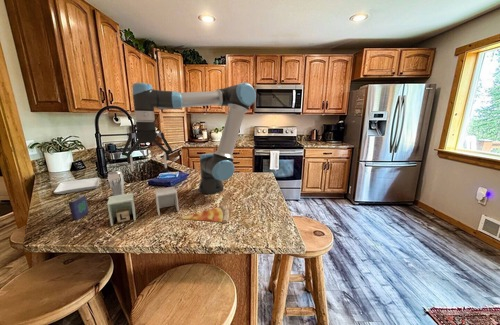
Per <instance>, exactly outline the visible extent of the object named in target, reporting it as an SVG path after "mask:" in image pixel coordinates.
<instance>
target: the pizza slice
mask: <svg viewBox="0 0 500 325" xmlns="http://www.w3.org/2000/svg"><path fill="white" fill-rule="evenodd" d="M179 220H187V221H197V222H198V221H199V222H211V223H224V224H228V222H229V220H230V211H229V209H228V207H227V206H226V205H225V204H223V203H222V204H219V206H218V207H213V208H211V209H210V208H209V209H207V210H204V211H200V212H197V213H194V214H190V215H187V216H183V217H180V218H179Z"/></svg>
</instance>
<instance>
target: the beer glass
mask: <svg viewBox="0 0 500 325" xmlns="http://www.w3.org/2000/svg"><path fill="white" fill-rule="evenodd" d="M107 179H108V185H109V187H110V190H111V192H112V196H118V195H124V194H125V191H124V186H125V185H124V184H125V183H124V180H125V179H124V175H123V171H119V170H116V171H110V172H108V173H107Z"/></svg>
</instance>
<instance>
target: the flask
mask: <svg viewBox="0 0 500 325" xmlns="http://www.w3.org/2000/svg"><path fill="white" fill-rule="evenodd" d="M68 206H69V209H70V214H71V218H72V221H73V222H75V221H78V220H80V219H82V218H83V217H85V216H86V215H87V214H88V213H89V212H90V211H89V207H88V202H87V197H86V194H81V193H80V194H75V197H74V198H73V199H70V200H69V201H68Z"/></svg>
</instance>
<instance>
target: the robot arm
mask: <svg viewBox="0 0 500 325" xmlns="http://www.w3.org/2000/svg"><path fill="white" fill-rule="evenodd" d="M256 98H257V93H256V91H255V88H254V87H253V86H252V84H250V83H249V82H241V83H238V84H233V85H231V86H227V87H224V88H218V89H216V90H213V91H212V90H211V91H206V90H205V91H191V92H190V91H188V92H180V91H174V90H172V91H171V90H160V89H159V90H157V89H154V88H153V86H152V84H150V83H145V82H136V83H133V84H132V101H133V109H134V118H135V129H136V132H135V133H134V132H133V133H132V132H128V135H127V136H128V138H127V140H126V143H125V145H124V146H123V148H122V151H121V155H122V156H125V157H126V162H127V164H128V165H130V169H131V172H134V162H133V155H132V153H134V151H135V150H136V149H137V148H138V147H139V146H140V145H141V143H143V144H152V143H155V144H156V145H157V147H159V148H160V149H161V151H163V152H164V153H163V162H164V169H167V168H168V162H167V161H170V158H169V157H170V153H173V149H172V147H171V146H170V143H168V141H167V139H166V138H165V134H164V132H157V130H156V129H157V128H156V122H155V120H156V118H155V108H156V109H157V110H158V109H159V110H169V109H170V110H171V109H173V110H174V109H182V108H193V107H205V106H216V105H217V106H218V107H228V109H229V110H228V112H227V116H226V118H225V119H226V120H225V123H224V126H223V130H222V133H221V136H220V140H219V143H218V147H217V150H216V151H214V152H211V153H202V154H200V155H199V164H200V165H199V167H200V182H199V185H198V192H199V193H201V194H204V195H215V194H218V193H220V192H223V191H224V184H223V181H227V180H229V179H230V178H232V177H233V175H234V173H235V170H236V169H235V165H234V161H235V158H234V155H233V153H234V150H235V147H236V143H237V142H238V141H237V140H238V137H239V134H240V131H241V126H242V123H243V120H244V117H245V114H246V113H248V112H249V109H250V106H253V104H254V103H255V102H256V100H257V99H256ZM135 137H136V138H137V139H138V140H137V141H136V142H135V143H134V145H132V146H131V148H130V149H129V151H128V152H127V150H128V148H129V146H130V143H131V142H132V139H134V138H135ZM157 137H159V138H161V140H162V142H163V143H164V145H165V146H166V148H167V149H166V148H165V147H164V146H163V145H162V144H160V142H158V140H157Z"/></svg>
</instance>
